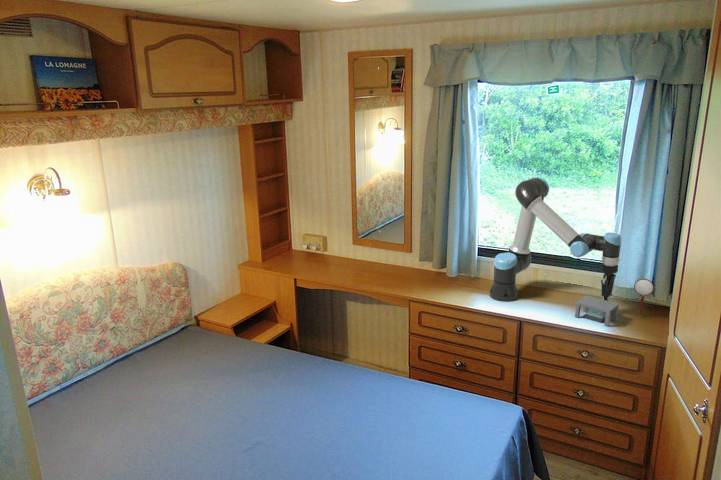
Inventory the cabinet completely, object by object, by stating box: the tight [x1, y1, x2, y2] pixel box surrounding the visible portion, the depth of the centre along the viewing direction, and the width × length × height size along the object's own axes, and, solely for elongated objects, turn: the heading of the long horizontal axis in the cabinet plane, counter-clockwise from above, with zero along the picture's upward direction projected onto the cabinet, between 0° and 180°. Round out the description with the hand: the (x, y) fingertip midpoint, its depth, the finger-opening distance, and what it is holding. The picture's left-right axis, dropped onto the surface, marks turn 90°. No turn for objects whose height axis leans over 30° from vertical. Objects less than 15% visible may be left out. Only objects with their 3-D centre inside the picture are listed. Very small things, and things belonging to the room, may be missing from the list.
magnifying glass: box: [633, 278, 655, 317], centre depth 259 cm, size 9×2×20 cm, turn 57°
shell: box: [586, 307, 612, 321], centre depth 262 cm, size 12×7×6 cm, turn 135°
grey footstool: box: [574, 295, 620, 328], centre depth 260 cm, size 16×12×8 cm
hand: (605, 307), depth 267 cm, fingers closed
